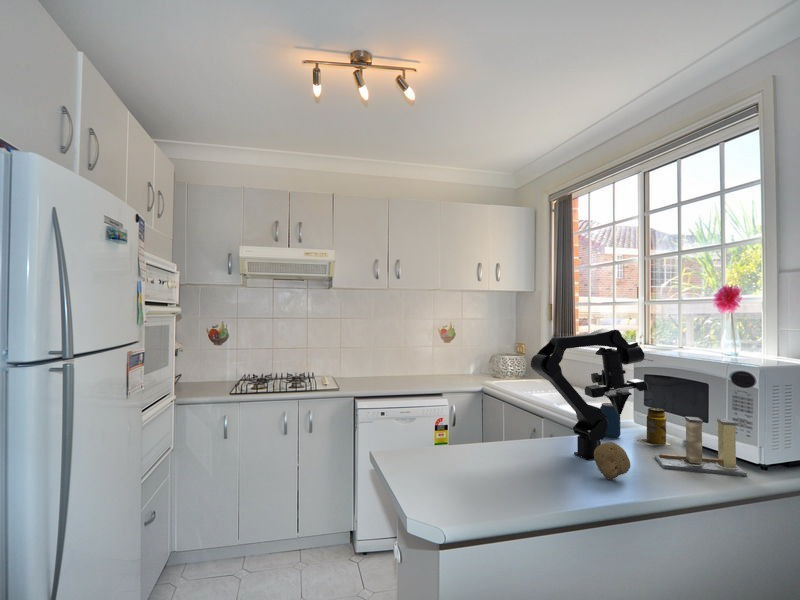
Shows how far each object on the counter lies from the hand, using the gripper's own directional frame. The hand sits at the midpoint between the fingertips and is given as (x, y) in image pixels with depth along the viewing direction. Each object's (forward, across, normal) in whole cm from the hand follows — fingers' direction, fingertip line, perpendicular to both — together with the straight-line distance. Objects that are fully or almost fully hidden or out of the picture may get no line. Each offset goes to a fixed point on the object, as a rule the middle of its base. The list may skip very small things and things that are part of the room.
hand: (619, 414), depth 145 cm
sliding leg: (+13, -15, +12) cm, 23 cm away
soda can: (+15, -6, -20) cm, 25 cm away
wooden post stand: (+15, -16, +13) cm, 25 cm away
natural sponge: (+10, +16, +22) cm, 29 cm away
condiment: (+16, -18, -12) cm, 27 cm away
